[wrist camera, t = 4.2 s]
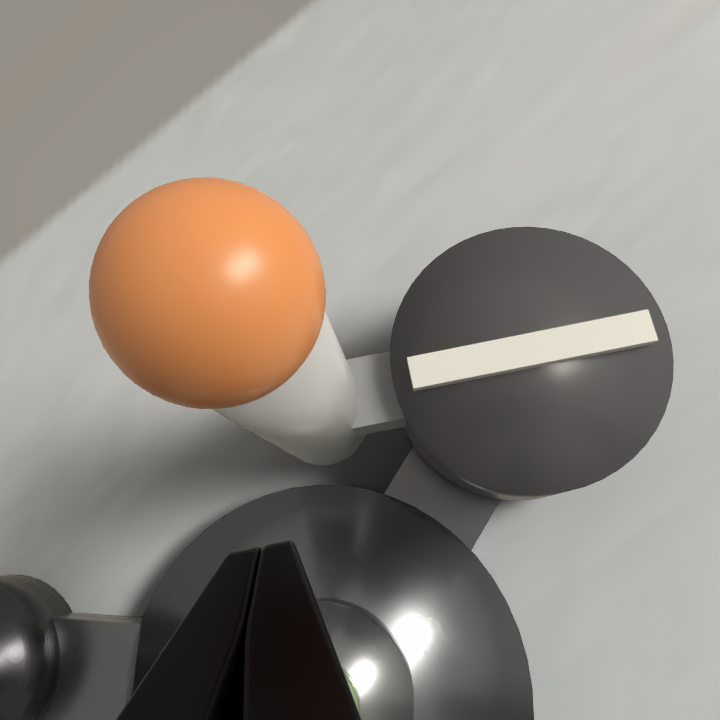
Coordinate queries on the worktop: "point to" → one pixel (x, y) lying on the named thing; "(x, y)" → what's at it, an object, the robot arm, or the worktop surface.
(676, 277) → the worktop surface
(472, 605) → the tribrach
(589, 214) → the worktop surface
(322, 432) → the footscrew lever
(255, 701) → the robot arm
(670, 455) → the worktop surface
